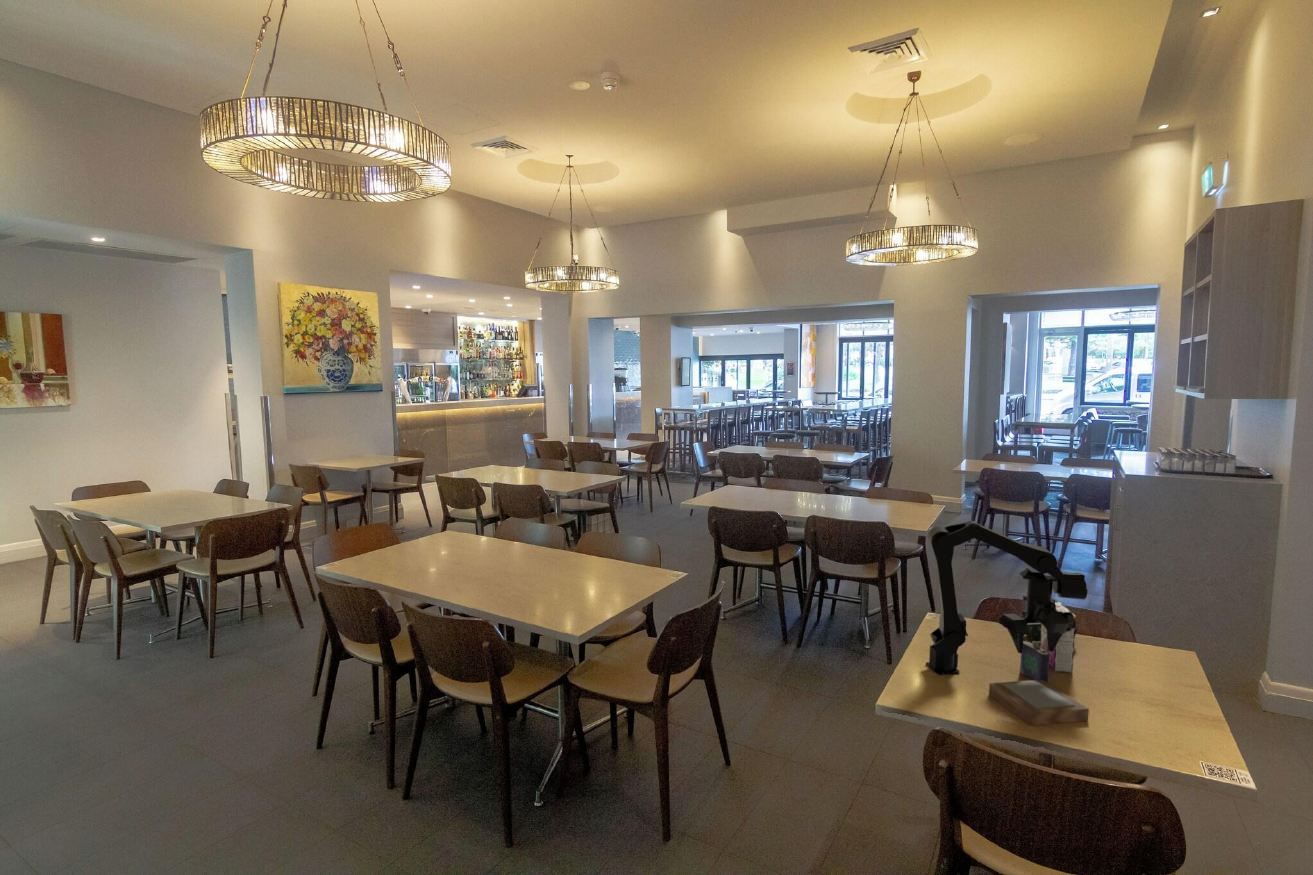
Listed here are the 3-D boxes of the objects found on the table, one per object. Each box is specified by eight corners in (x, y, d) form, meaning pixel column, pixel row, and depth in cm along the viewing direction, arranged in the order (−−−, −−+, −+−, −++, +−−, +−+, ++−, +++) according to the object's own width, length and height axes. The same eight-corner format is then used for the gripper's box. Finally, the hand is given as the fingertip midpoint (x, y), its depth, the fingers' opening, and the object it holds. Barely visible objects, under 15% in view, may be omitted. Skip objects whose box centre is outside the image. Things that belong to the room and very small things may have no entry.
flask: (1017, 672, 180) (1019, 634, 179) (1027, 671, 180) (1029, 634, 179) (1041, 688, 171) (1044, 648, 170) (1051, 687, 171) (1054, 648, 170)
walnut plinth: (1030, 725, 152) (1031, 711, 152) (988, 694, 167) (989, 681, 167) (1087, 720, 154) (1088, 707, 154) (1041, 690, 169) (1042, 678, 169)
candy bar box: (1038, 654, 191) (1041, 600, 190) (1057, 656, 190) (1060, 601, 189) (1053, 671, 180) (1057, 614, 179) (1073, 673, 179) (1077, 615, 178)
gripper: (1029, 607, 164) (1024, 667, 165) (1095, 604, 167) (1090, 663, 168) (999, 592, 175) (995, 648, 176) (1062, 590, 178) (1057, 645, 179)
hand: (1035, 652), depth 175 cm, fingers open, 9 cm apart
